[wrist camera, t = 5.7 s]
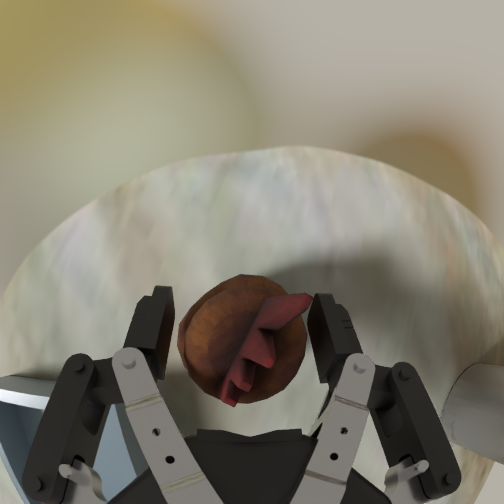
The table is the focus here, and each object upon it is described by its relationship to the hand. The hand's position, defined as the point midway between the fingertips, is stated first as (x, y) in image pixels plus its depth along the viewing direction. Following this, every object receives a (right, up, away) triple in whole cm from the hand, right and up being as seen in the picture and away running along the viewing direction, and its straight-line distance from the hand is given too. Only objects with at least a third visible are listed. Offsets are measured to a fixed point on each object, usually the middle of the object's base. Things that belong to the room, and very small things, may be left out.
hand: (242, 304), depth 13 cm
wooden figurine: (-1, -3, +7) cm, 8 cm away
